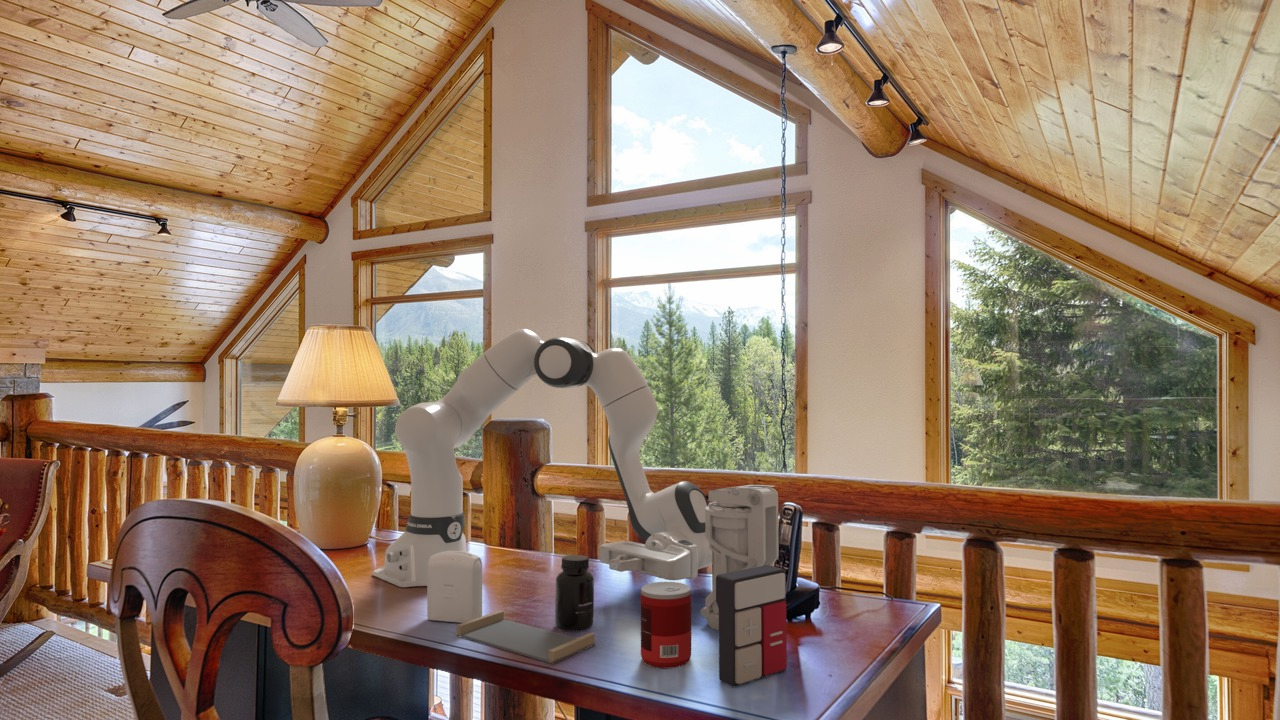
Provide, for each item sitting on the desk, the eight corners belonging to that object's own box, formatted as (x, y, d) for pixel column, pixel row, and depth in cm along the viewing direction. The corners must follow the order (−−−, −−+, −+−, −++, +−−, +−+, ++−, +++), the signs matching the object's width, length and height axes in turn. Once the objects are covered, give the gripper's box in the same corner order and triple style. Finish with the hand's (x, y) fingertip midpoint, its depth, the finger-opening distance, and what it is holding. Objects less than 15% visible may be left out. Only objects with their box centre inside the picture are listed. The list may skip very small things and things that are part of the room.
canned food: (701, 658, 113) (701, 587, 114) (668, 673, 108) (668, 598, 108) (663, 646, 119) (663, 578, 119) (630, 660, 113) (630, 588, 113)
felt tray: (456, 635, 124) (456, 624, 124) (499, 620, 132) (500, 610, 132) (553, 663, 111) (553, 651, 111) (594, 645, 119) (594, 633, 119)
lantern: (693, 624, 130) (693, 483, 131) (728, 611, 137) (727, 478, 138) (754, 642, 121) (753, 490, 122) (788, 627, 128) (787, 484, 129)
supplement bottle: (587, 633, 125) (588, 563, 125) (549, 631, 126) (550, 561, 127) (598, 621, 132) (598, 554, 132) (561, 618, 133) (562, 552, 134)
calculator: (736, 690, 102) (735, 581, 102) (715, 680, 105) (715, 574, 106) (790, 672, 108) (789, 569, 109) (769, 663, 112) (768, 564, 112)
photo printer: (423, 621, 132) (423, 552, 132) (435, 614, 136) (436, 547, 136) (474, 626, 129) (474, 555, 129) (485, 618, 133) (486, 550, 134)
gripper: (629, 531, 154) (578, 540, 144) (703, 546, 139) (653, 558, 129) (628, 561, 153) (578, 572, 144) (703, 579, 139) (652, 594, 129)
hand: (614, 566), depth 136 cm, fingers closed
